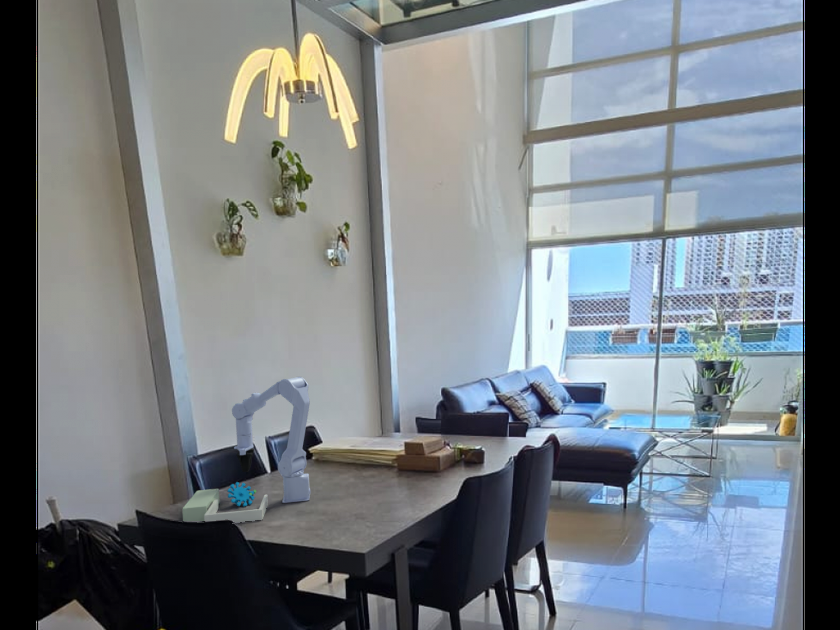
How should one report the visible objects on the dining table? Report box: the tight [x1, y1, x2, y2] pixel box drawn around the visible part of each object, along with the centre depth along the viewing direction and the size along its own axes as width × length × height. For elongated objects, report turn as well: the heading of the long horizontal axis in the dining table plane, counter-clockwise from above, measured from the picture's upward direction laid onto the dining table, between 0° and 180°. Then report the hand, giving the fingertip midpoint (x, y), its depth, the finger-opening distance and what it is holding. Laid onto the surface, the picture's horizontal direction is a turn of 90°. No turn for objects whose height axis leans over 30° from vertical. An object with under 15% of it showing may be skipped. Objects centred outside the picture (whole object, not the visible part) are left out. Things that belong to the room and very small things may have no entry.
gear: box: [227, 481, 257, 508], centre depth 212 cm, size 11×6×10 cm
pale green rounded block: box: [182, 488, 220, 522], centre depth 205 cm, size 8×22×5 cm, turn 9°
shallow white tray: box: [204, 494, 269, 524], centre depth 200 cm, size 18×18×4 cm
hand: (246, 470), depth 223 cm, fingers open, 3 cm apart
